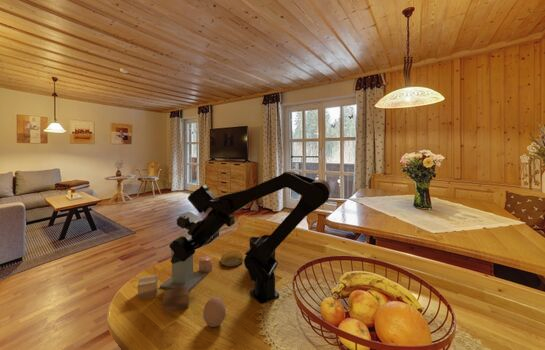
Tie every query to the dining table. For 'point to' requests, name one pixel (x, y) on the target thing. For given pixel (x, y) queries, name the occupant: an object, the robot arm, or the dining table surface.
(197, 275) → the coaster
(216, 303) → the mauve oval ball
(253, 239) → the pen holder
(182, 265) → the tall block
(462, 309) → the dining table surface
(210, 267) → the pink rounded pebble
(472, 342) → the dining table surface
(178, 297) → the walnut brick
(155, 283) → the beech cube
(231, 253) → the bread roll
